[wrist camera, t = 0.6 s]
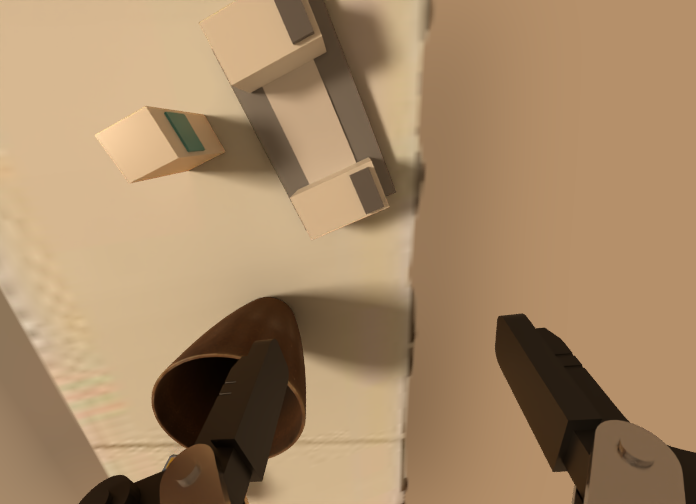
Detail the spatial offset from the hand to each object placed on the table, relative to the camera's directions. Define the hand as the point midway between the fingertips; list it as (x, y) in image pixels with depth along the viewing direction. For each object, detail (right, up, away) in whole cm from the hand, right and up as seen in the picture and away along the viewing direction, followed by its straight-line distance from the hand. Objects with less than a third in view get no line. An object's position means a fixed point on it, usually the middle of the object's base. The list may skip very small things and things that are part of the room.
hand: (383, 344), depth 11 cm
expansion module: (-19, +16, +23) cm, 34 cm away
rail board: (-5, +18, +22) cm, 29 cm away
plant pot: (-13, -7, +33) cm, 36 cm away
